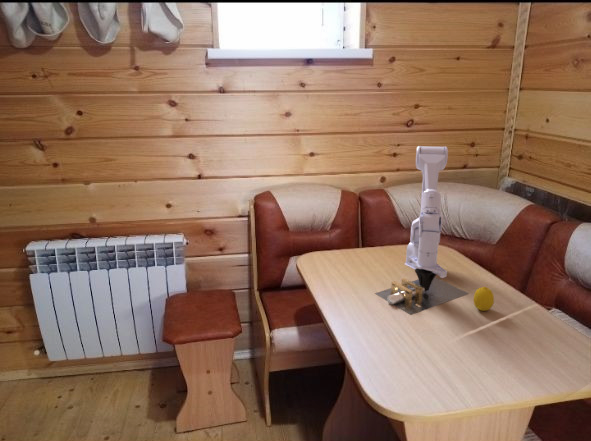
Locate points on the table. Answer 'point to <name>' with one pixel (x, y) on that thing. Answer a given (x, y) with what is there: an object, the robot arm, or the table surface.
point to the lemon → (483, 298)
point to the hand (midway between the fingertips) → (424, 290)
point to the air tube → (401, 296)
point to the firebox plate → (432, 297)
